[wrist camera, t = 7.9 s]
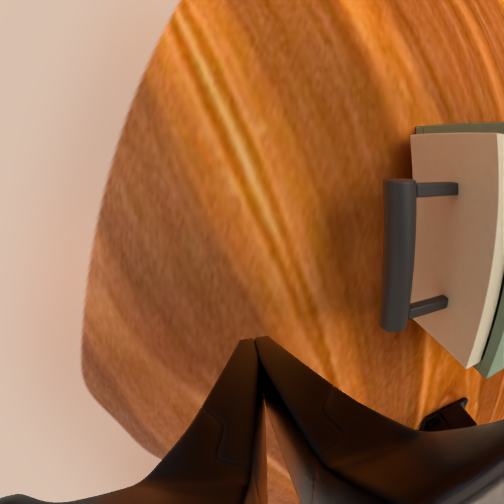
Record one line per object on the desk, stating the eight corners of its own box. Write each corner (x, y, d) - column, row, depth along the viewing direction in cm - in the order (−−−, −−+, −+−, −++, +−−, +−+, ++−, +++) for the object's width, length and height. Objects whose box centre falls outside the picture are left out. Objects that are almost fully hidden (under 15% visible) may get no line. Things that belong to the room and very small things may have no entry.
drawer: (349, 326, 18) (401, 397, 11) (344, 133, 14) (424, 122, 8) (514, 276, 19) (565, 306, 12) (523, 148, 15) (584, 157, 9)
